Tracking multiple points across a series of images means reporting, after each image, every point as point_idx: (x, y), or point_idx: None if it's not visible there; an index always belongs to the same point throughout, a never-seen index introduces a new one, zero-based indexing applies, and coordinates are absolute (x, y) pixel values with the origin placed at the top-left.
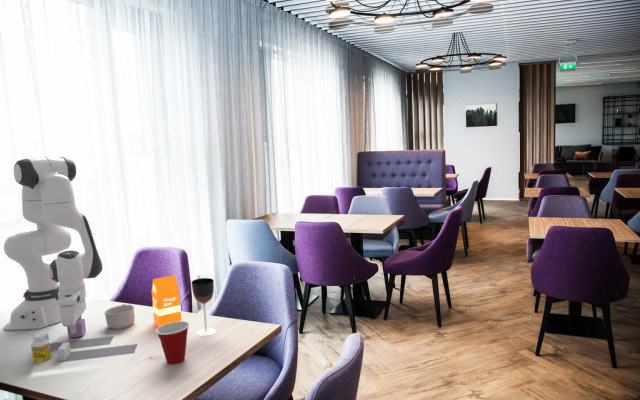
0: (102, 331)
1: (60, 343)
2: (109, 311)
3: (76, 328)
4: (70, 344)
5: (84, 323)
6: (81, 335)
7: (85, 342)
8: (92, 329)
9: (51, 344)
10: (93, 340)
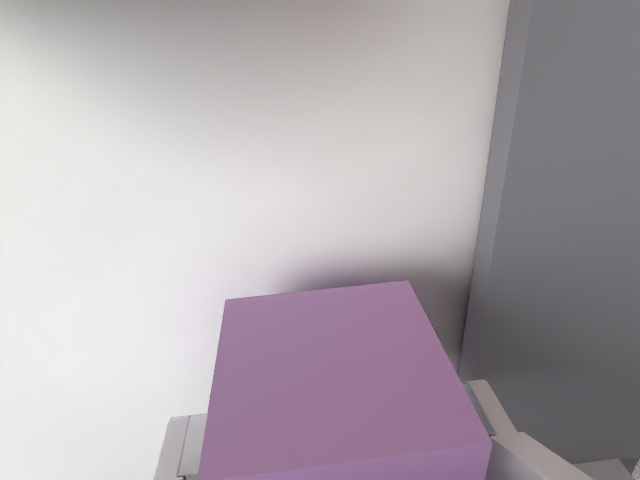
0: (93, 85)
1: None
2: None
3: None
4: (589, 320)
5: (251, 396)
6: (412, 296)
7: (627, 174)
8: (9, 260)
9: None
10: (614, 78)
